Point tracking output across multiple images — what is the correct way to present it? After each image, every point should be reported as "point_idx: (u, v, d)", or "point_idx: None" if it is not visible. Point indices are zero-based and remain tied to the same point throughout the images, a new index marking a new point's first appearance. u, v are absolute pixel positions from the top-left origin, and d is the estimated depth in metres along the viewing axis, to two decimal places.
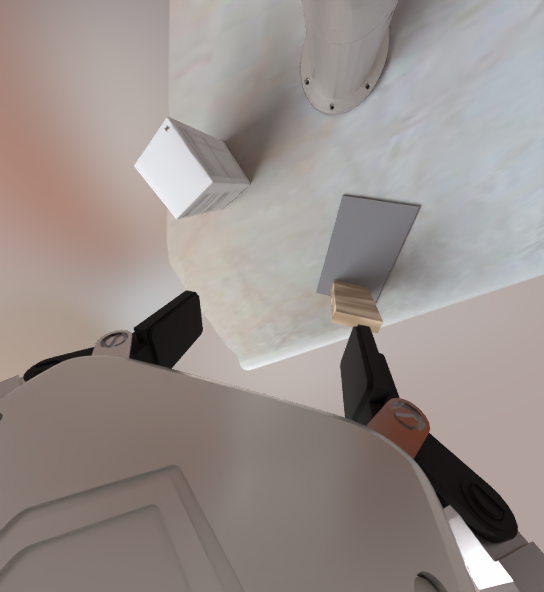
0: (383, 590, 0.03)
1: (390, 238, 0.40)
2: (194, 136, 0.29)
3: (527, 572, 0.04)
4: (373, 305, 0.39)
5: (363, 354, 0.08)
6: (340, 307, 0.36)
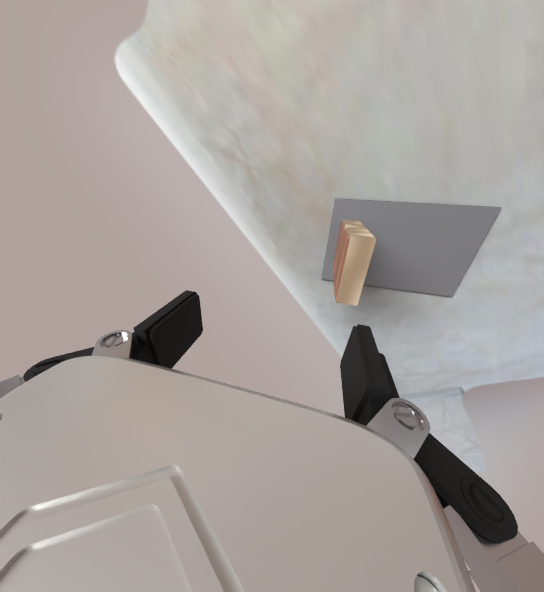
0: (383, 590, 0.03)
1: (416, 277, 0.34)
2: None
3: (527, 572, 0.04)
4: None
5: (363, 354, 0.08)
6: None
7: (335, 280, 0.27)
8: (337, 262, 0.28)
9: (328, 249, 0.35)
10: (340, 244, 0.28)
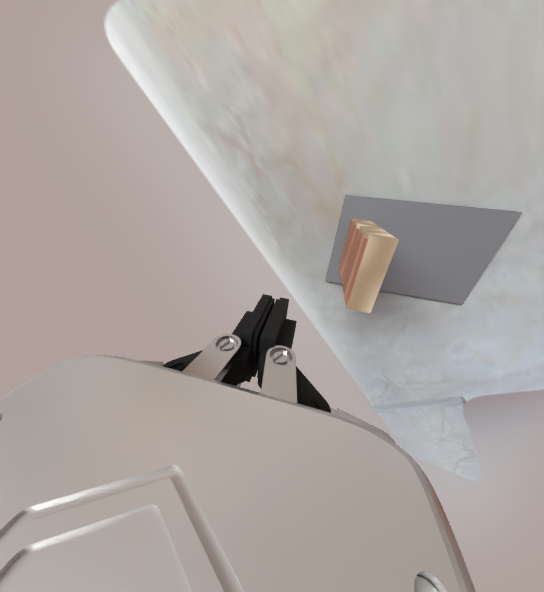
0: (383, 590, 0.03)
1: (426, 283, 0.32)
2: None
3: None
4: None
5: (270, 317, 0.10)
6: None
7: (345, 284, 0.25)
8: (347, 264, 0.26)
9: (334, 249, 0.33)
10: (351, 244, 0.26)
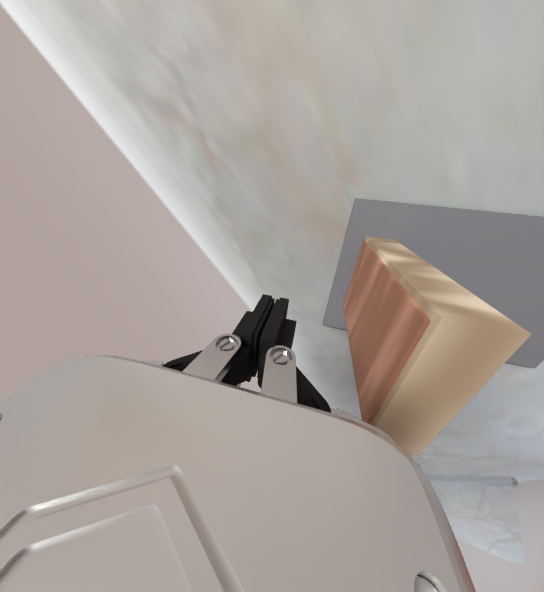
0: (383, 590, 0.03)
1: None
2: None
3: None
4: None
5: (270, 317, 0.10)
6: None
7: (358, 367, 0.13)
8: (361, 324, 0.14)
9: (337, 282, 0.21)
10: (368, 290, 0.14)
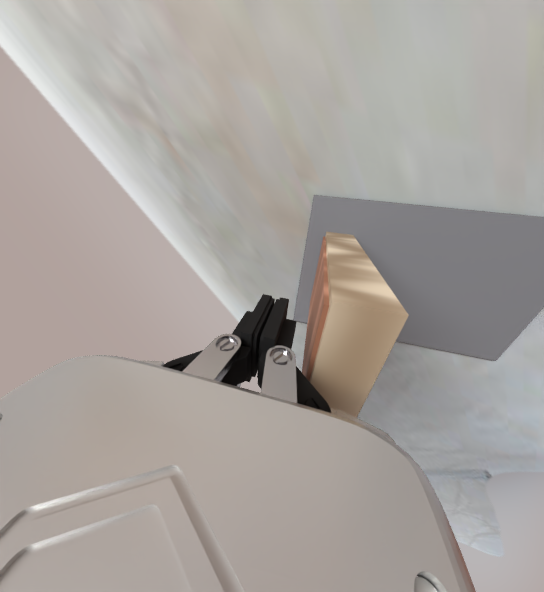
0: (383, 590, 0.03)
1: (442, 329, 0.21)
2: None
3: None
4: None
5: (270, 317, 0.10)
6: None
7: (304, 357, 0.13)
8: (311, 316, 0.15)
9: (303, 278, 0.22)
10: (317, 282, 0.14)
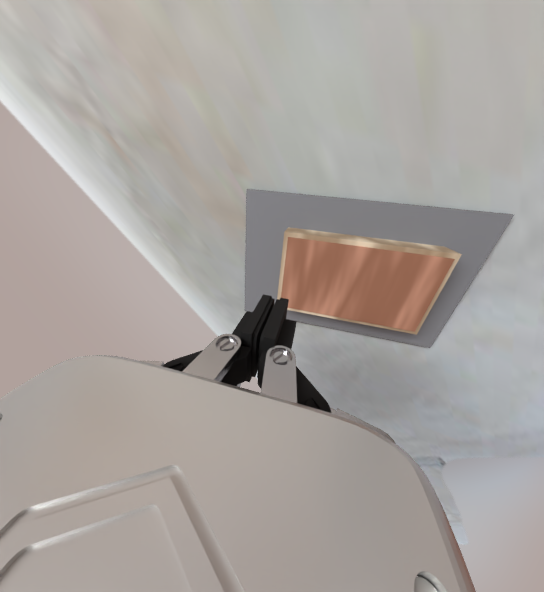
0: (383, 590, 0.03)
1: None
2: None
3: None
4: None
5: (270, 317, 0.10)
6: None
7: (380, 316, 0.19)
8: (359, 296, 0.18)
9: (247, 269, 0.23)
10: (354, 271, 0.17)
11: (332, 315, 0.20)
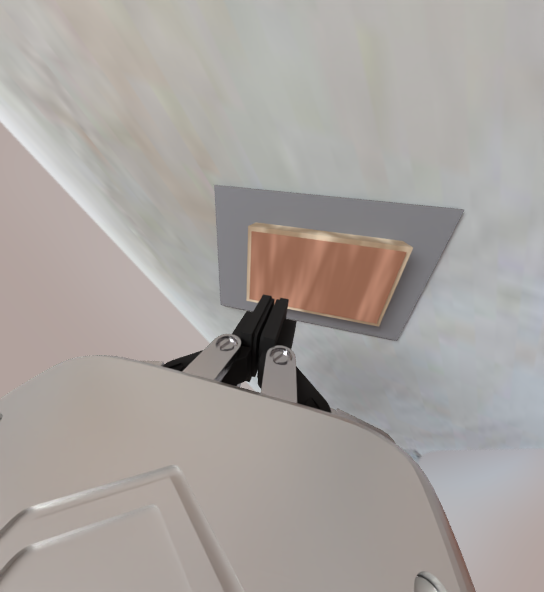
0: (383, 590, 0.03)
1: None
2: None
3: None
4: None
5: (270, 317, 0.10)
6: None
7: (343, 309, 0.20)
8: (322, 288, 0.19)
9: (220, 263, 0.23)
10: (315, 264, 0.18)
11: (299, 308, 0.21)
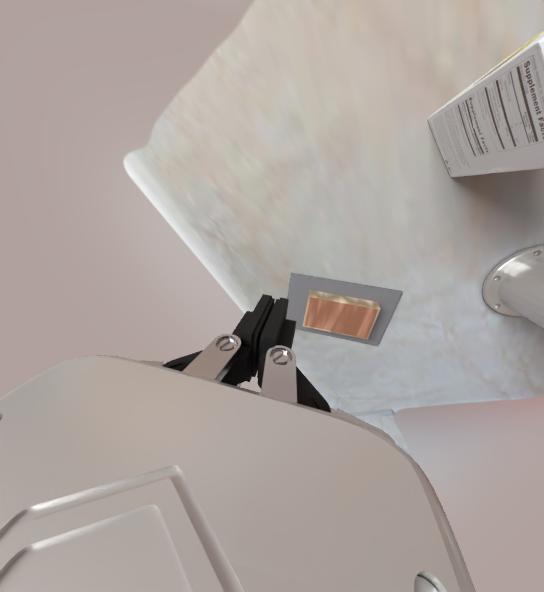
0: (383, 590, 0.03)
1: None
2: None
3: None
4: None
5: (270, 317, 0.10)
6: None
7: (351, 331, 0.42)
8: (341, 322, 0.41)
9: None
10: (338, 312, 0.40)
11: (329, 330, 0.43)
